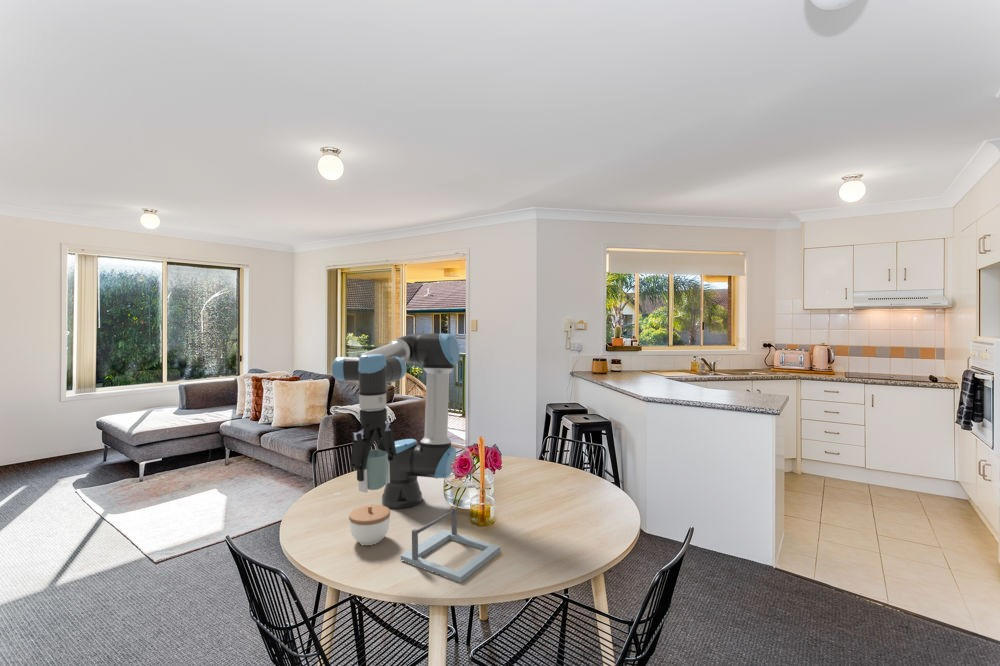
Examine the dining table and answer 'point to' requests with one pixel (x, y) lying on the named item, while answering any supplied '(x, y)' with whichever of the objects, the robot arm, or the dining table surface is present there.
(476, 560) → the towel rail frame
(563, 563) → the dining table surface
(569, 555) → the dining table surface
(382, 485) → the cup
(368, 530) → the lidded bowl
